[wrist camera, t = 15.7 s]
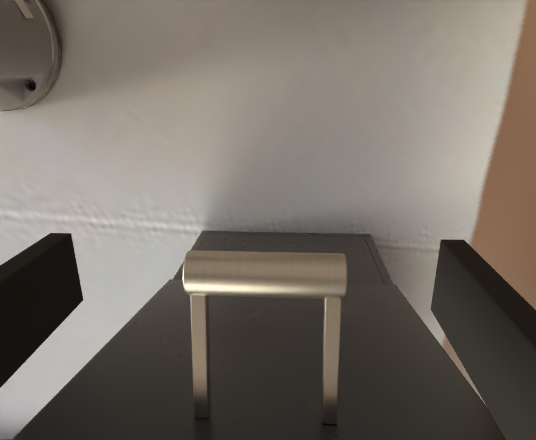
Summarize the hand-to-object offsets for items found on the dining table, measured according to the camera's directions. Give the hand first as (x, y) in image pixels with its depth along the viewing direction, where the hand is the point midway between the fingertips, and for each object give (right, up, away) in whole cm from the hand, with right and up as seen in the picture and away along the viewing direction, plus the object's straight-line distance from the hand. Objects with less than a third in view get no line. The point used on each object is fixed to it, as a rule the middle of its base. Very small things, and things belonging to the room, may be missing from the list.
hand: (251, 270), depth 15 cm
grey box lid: (+1, -7, +14) cm, 15 cm away
